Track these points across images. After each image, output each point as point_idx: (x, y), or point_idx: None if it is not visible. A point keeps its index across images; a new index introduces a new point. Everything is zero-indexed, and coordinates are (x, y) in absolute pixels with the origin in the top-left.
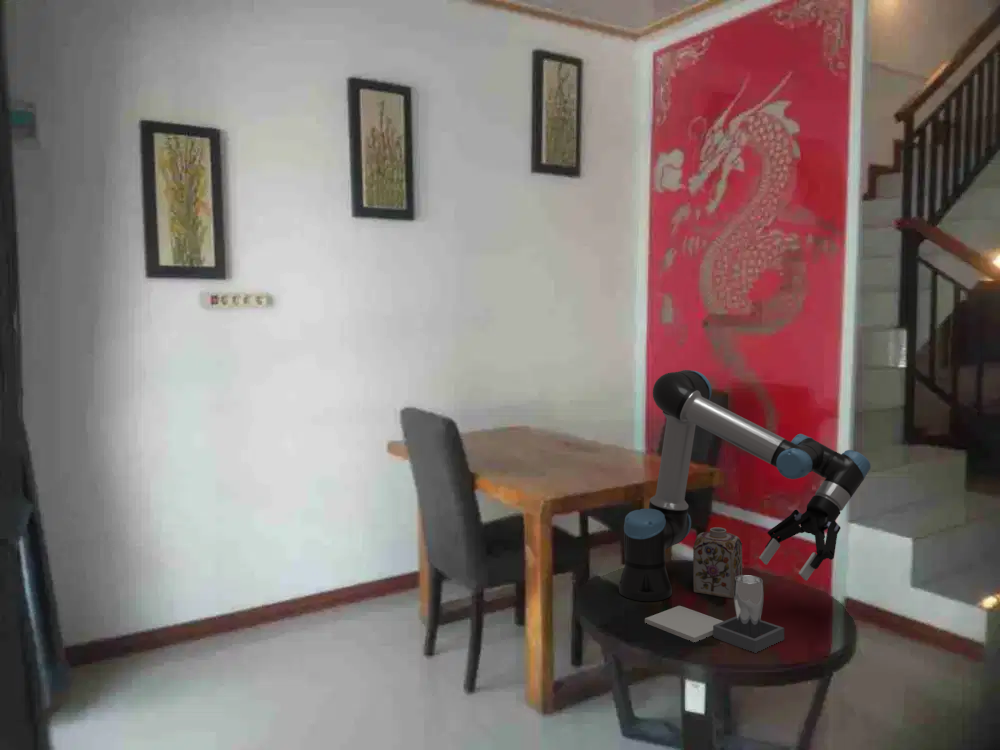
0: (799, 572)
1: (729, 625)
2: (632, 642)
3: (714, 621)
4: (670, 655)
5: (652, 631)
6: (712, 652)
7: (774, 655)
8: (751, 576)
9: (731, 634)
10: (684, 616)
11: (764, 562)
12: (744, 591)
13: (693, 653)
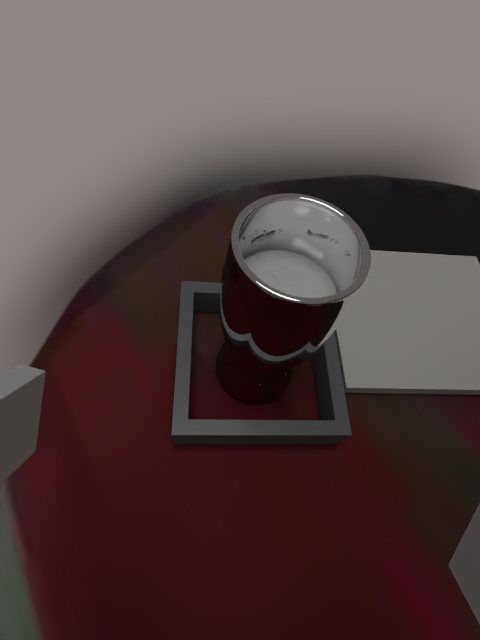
0: (36, 375)
1: (319, 350)
2: (387, 183)
3: (379, 365)
4: (299, 184)
5: (417, 242)
6: None
7: (139, 326)
8: (332, 297)
9: None
10: (449, 333)
11: (464, 541)
12: (267, 221)
13: None
